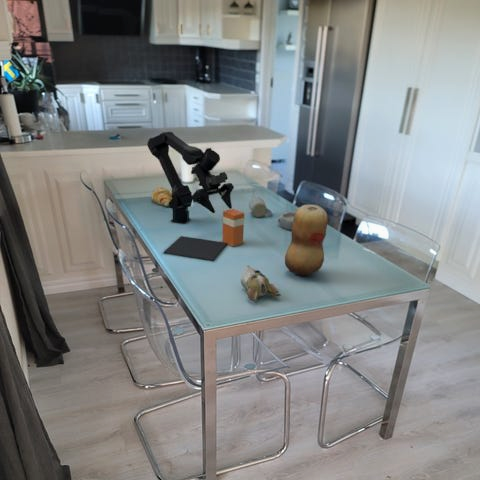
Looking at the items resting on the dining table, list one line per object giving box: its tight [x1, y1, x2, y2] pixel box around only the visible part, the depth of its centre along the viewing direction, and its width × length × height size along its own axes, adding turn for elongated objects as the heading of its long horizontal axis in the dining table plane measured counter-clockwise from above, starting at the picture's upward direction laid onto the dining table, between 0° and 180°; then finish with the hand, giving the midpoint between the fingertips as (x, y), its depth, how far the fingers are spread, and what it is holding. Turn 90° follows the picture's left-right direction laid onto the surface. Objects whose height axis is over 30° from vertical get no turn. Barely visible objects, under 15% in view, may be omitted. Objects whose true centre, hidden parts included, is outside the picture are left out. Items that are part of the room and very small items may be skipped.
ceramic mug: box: [248, 196, 273, 218], centre depth 223 cm, size 11×8×8 cm
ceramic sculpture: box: [240, 265, 282, 302], centre depth 154 cm, size 11×9×15 cm
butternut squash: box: [284, 204, 329, 277], centre depth 164 cm, size 14×13×25 cm
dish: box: [277, 211, 296, 231], centre depth 213 cm, size 14×14×5 cm
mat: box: [163, 235, 228, 262], centre depth 187 cm, size 20×18×1 cm
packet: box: [221, 208, 245, 247], centre depth 190 cm, size 6×6×13 cm
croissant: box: [150, 187, 172, 207], centre depth 235 cm, size 21×10×8 cm, turn 27°
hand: (222, 210), depth 191 cm, fingers open, 9 cm apart
